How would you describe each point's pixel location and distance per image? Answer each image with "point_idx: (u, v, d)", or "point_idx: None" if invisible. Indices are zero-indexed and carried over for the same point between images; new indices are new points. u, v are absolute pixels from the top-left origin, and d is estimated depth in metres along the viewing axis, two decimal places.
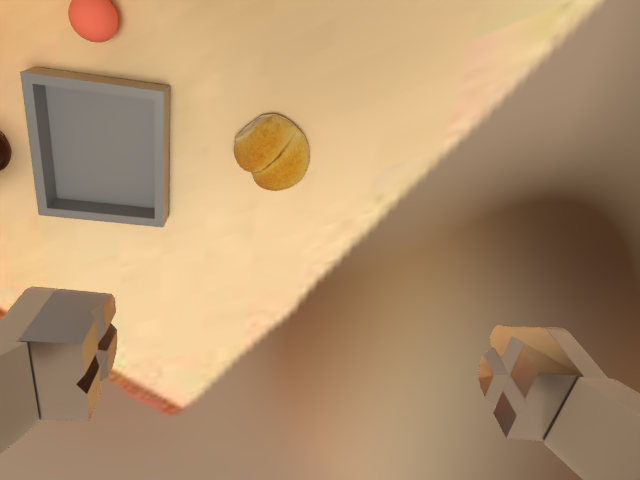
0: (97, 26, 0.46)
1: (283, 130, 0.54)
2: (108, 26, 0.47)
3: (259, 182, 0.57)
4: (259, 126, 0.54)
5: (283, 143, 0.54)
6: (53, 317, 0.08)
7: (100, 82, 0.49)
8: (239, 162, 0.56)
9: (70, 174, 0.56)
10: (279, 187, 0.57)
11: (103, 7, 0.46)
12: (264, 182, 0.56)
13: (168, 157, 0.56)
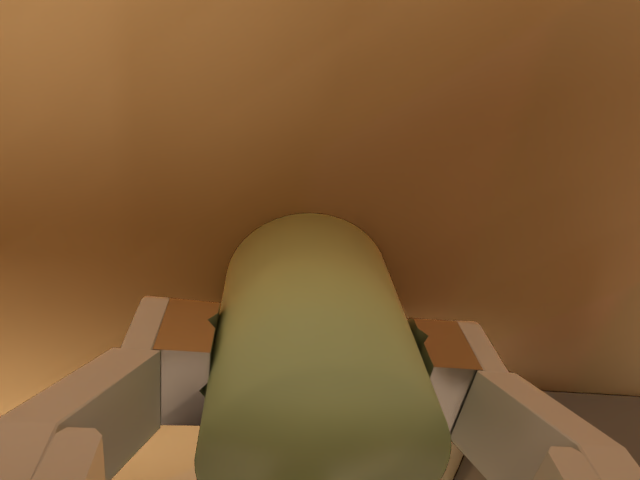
0: None
1: None
2: None
3: None
4: None
5: None
6: (176, 326, 0.08)
7: None
8: None
9: None
10: None
11: None
12: None
13: None
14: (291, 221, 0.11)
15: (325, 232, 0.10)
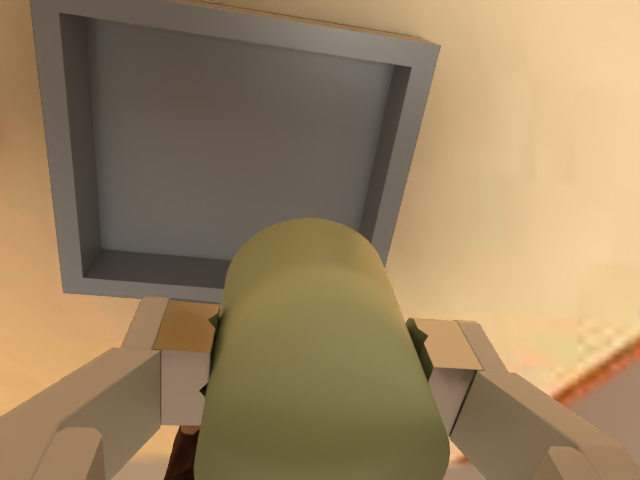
0: None
1: None
2: None
3: None
4: None
5: None
6: (176, 326, 0.08)
7: None
8: None
9: None
10: None
11: None
12: None
13: (253, 10, 0.21)
14: (290, 226, 0.11)
15: (324, 237, 0.10)
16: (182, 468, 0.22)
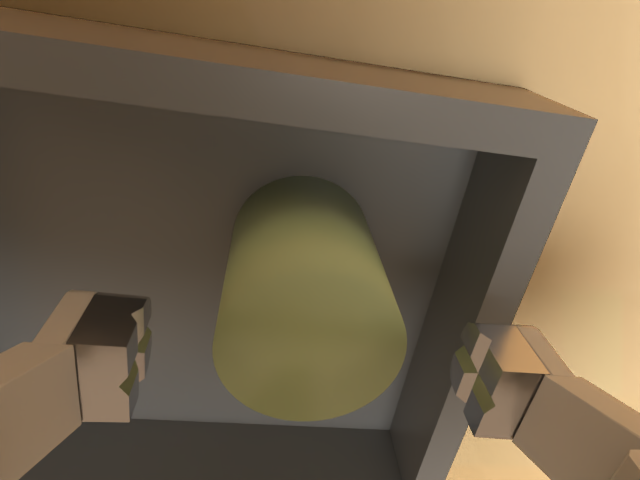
0: None
1: None
2: None
3: None
4: None
5: None
6: (96, 320, 0.08)
7: None
8: None
9: None
10: None
11: None
12: None
13: (235, 46, 0.12)
14: (287, 181, 0.13)
15: (314, 189, 0.12)
16: None
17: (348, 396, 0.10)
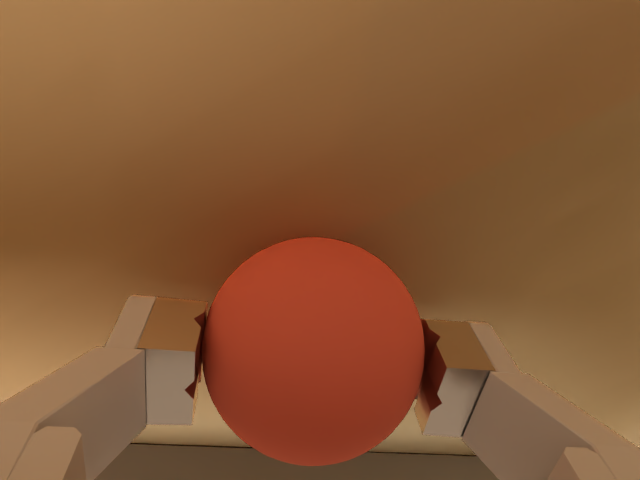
0: (369, 444, 0.09)
1: None
2: (405, 414, 0.09)
3: None
4: None
5: None
6: (161, 325, 0.08)
7: None
8: None
9: None
10: None
11: (407, 345, 0.08)
12: None
13: None
14: None
15: None
16: None
17: None
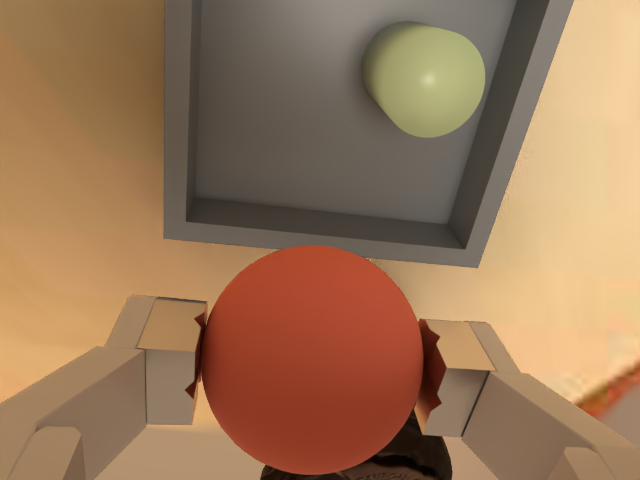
0: (367, 454, 0.09)
1: None
2: (403, 423, 0.09)
3: None
4: None
5: None
6: (161, 325, 0.08)
7: None
8: None
9: (399, 189, 0.26)
10: None
11: (406, 355, 0.08)
12: None
13: None
14: (401, 22, 0.21)
15: None
16: None
17: (450, 120, 0.19)
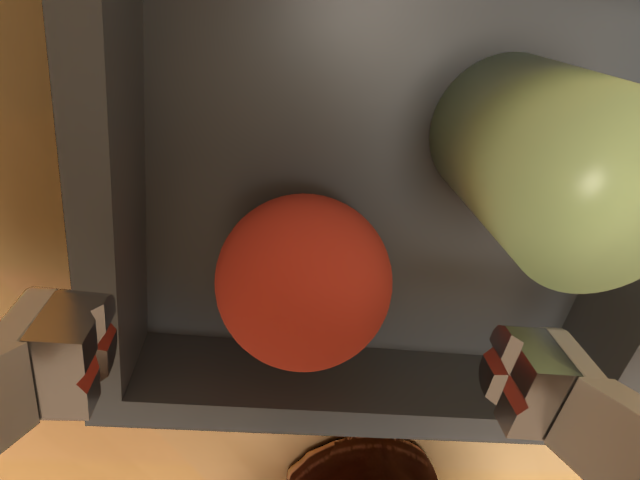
0: (345, 351, 0.11)
1: None
2: (375, 332, 0.12)
3: None
4: None
5: None
6: (53, 317, 0.08)
7: None
8: None
9: (476, 313, 0.16)
10: None
11: (375, 272, 0.11)
12: None
13: None
14: (508, 55, 0.12)
15: (547, 58, 0.11)
16: None
17: (633, 262, 0.09)
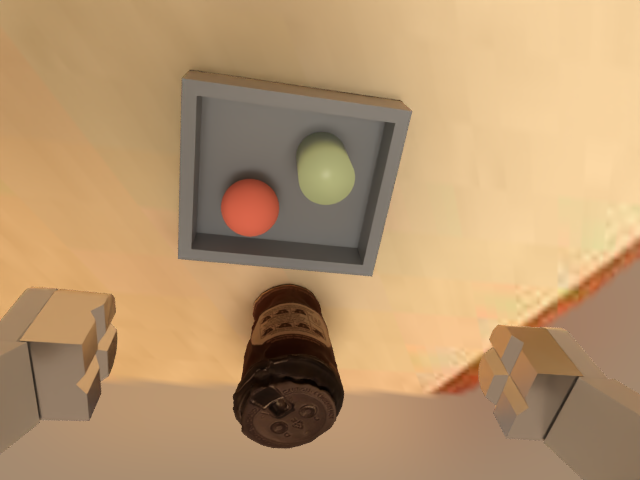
0: (259, 226, 0.36)
1: None
2: (270, 223, 0.36)
3: None
4: None
5: None
6: (53, 317, 0.08)
7: None
8: None
9: (324, 226, 0.41)
10: None
11: (268, 203, 0.36)
12: None
13: (301, 87, 0.35)
14: (317, 133, 0.37)
15: (327, 135, 0.36)
16: None
17: (337, 195, 0.34)
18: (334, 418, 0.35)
